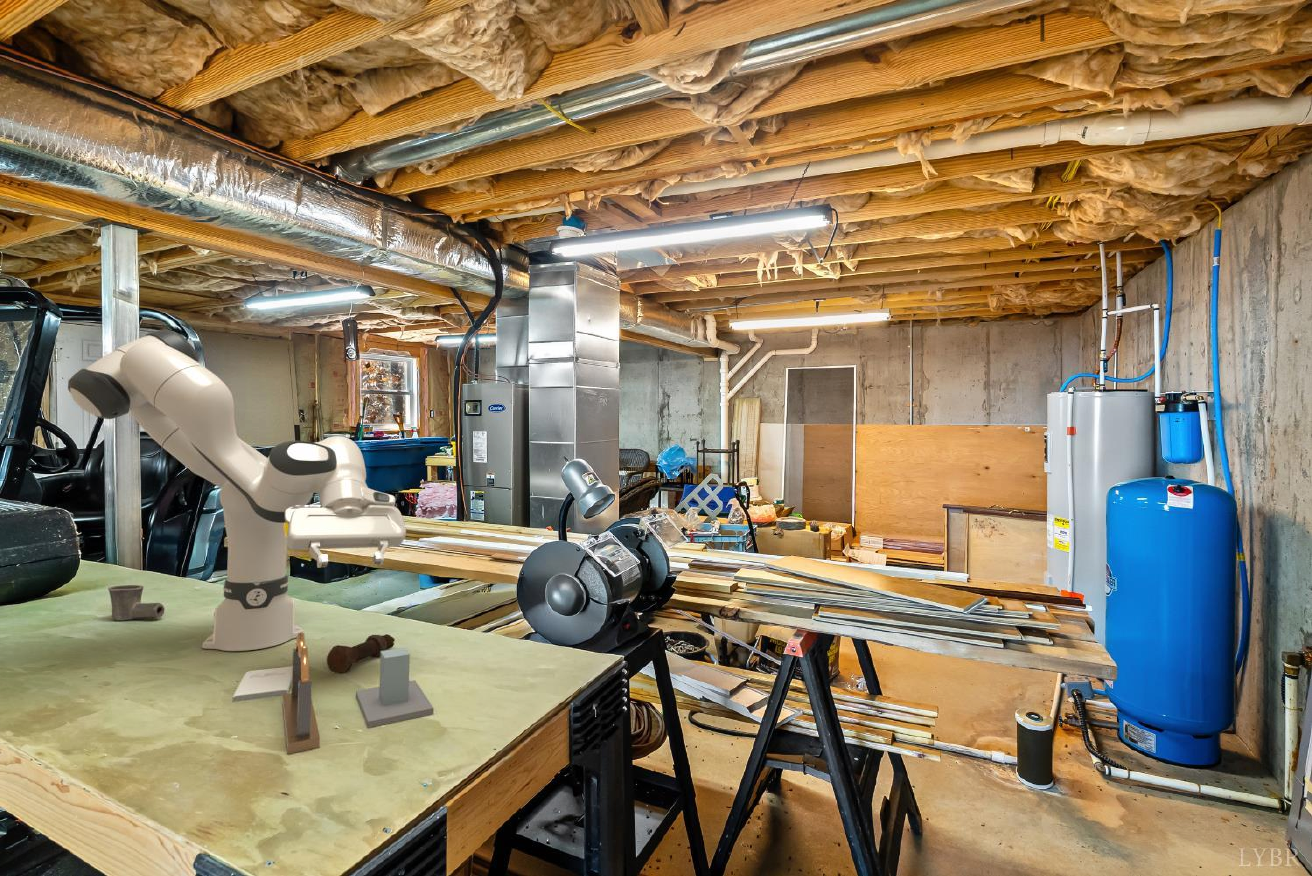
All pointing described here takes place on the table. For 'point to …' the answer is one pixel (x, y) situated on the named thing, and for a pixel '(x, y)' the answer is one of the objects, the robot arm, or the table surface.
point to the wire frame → (300, 704)
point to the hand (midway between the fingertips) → (351, 564)
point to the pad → (392, 706)
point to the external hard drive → (264, 684)
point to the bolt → (357, 653)
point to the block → (394, 676)
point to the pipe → (132, 604)
